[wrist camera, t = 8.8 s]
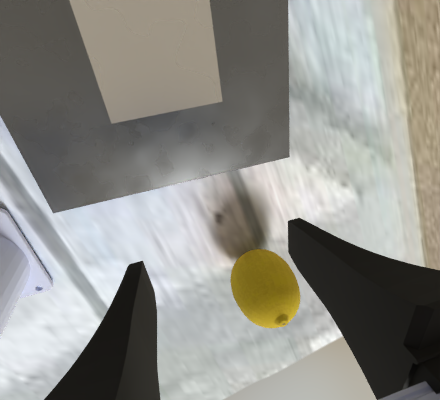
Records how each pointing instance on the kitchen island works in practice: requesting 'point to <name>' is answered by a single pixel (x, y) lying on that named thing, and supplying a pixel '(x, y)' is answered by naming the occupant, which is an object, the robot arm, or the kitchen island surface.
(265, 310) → the lemon
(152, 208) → the kitchen island surface
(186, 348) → the kitchen island surface
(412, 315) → the robot arm
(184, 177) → the stand base
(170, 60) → the post
